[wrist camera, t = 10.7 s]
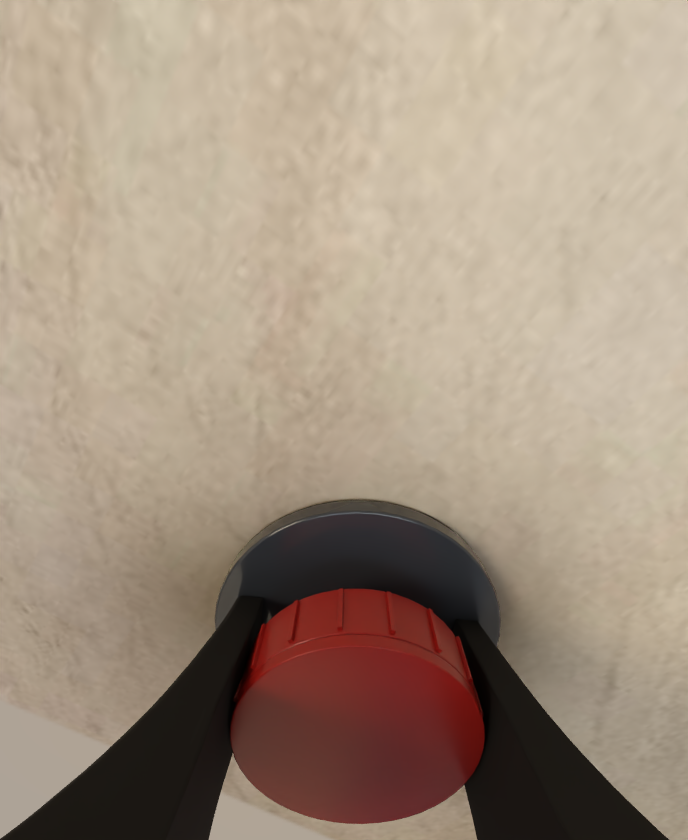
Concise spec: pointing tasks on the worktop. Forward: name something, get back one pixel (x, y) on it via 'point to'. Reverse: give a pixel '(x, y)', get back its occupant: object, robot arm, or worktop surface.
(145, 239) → the worktop surface
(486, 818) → the robot arm
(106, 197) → the worktop surface
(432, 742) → the lid
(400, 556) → the coaster
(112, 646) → the worktop surface
